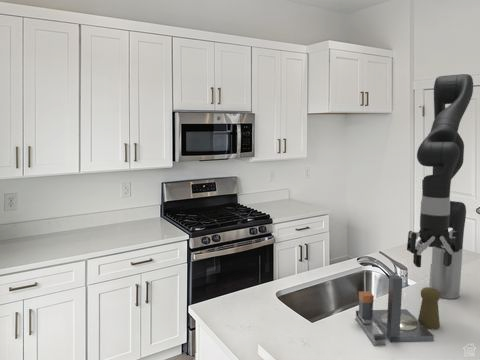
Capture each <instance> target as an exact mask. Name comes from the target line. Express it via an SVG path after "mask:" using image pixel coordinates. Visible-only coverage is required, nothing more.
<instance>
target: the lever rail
mask: <svg viewBox="0 0 480 360" xmlns="http://www.w3.org/2000/svg"><path fill="white" fill-rule="evenodd" d="M358 312H359V309H358V310H355V320H356V321H357V323H358V325H359V326H360V327H361V328H362V330H363V331H364V333H365V334H366V335H367V338H369V340H370V341H371V343H372V345H374V346H386V343H387V337H386V335H385V334H384V333H381V332H380V331H379V330H378V328H377V327H376V326H375V324H374V323H373V324H364V323H363V322H362V320H361V319H360V317H359V316H358Z"/></svg>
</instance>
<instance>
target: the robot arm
mask: <svg viewBox="0 0 480 360" xmlns="http://www.w3.org/2000/svg"><path fill="white" fill-rule="evenodd" d="M473 93H474V79H473V76H472V75H471V74H466V73H461V74H448V75H440V76H437V77H436V78H435V80H434V84H433V110H434V112H433V118H434V119H433V122H432V124H431V128H430V132H429V133H428V135H427V136H426V137H425V138H424V140H422V142H421V143H420V145H419V147H418V148H417V151H416V158H417V162H418V163H419V164H420V165H421V166H424V167H429V168H430V167H432V174H428V175H425V176H424V177H423V179H422V191H421V192H422V193H421V201H420V215H419V230H418V231H412V230H409V231H408V233H407V243H406V250H407V251H408V252H409V253H411V254H413V261H412V262H413V265H414V267H417V268H421V267H422V253H423V252H424V251H425V250H427V249H428V247H429V248H432V252H431V263H430V269H429V270H430V271H429V276H430V277H429V288H434V289H436V290H438V291H439V293H440V299H447V300H449V299H450V300H453V299H459V298H460V293H461V292H460V291H461V281H462V279H461V277H462V267H463V266H462V265H463V264H462V263H463V248H464V245H463V244H464V236H465V235H464V234H465V226H466V218H467V217H466V216H467V207H466V204H465V203H464V202H463V201H454V200H451V198H450V197H451V186H452V185H451V184H452V180H453V178H454V177H455V176H456V175H457V174H458V172H459V171H460V169H461V167H462V166H463V164H464V157H465V155H464V154H465V153H464V152H465V144H464V143H465V142H464V140H463V138H462V137H461V135H460V133H459V128H460V123H461V121H462V118H463V116H464V115H465V112H466V110H467V108H468V107H469V104H470V102H471V100H472V97H473ZM446 105H448V106H447V107H446ZM449 229H451V230H450V231H449ZM418 239H419V240H418ZM417 240H418V241H417Z"/></svg>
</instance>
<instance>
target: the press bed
mask: <svg viewBox="0 0 480 360" xmlns="http://www.w3.org/2000/svg"><path fill="white" fill-rule="evenodd" d="M402 294H403V277H401V276H400V275H397V274H396V275H395V274H394V275H393V274H390V275H388V296H387V298H388V299H387V309H373V316H372V320H373V323H375V325H376V326H377V327H378V328H379V330H380V331H381V332H382V334H385V335H386V339H387V340H388V341H389V342H390V343H402V342H403V343H404V342H405V343H407V342H408V343H409V342H434V341H435V340H434V337H435V336H434V334H432V332H431V331H429V329H426V328H425V327H424V326H423V325H422V324H421V323H420V322H419V321H418V319H417V318H416V317H415V316H414V315H413V314H412V313H411V312H410V311H409V310H407V308H404V309H403V308H402Z"/></svg>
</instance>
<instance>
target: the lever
mask: <svg viewBox="0 0 480 360" xmlns="http://www.w3.org/2000/svg"><path fill="white" fill-rule="evenodd" d="M374 299H375V297H374V295H373V293H372V292H371V291H370V290H369V291H368V290H367V291H366V290H363V291H359V292H358V300H359V301H358V310H359V312H358V316H359V317H360V319H361V320H362V322H363V323H364V324H374V321H373V319H372V316H373V310H374V302H375V301H374Z"/></svg>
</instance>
